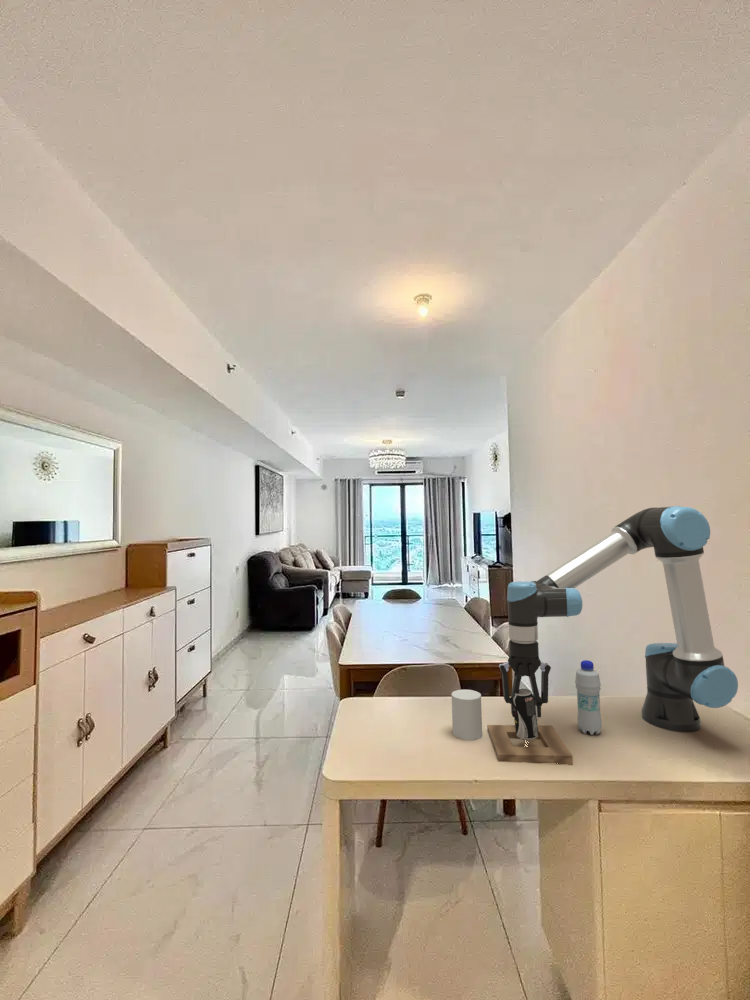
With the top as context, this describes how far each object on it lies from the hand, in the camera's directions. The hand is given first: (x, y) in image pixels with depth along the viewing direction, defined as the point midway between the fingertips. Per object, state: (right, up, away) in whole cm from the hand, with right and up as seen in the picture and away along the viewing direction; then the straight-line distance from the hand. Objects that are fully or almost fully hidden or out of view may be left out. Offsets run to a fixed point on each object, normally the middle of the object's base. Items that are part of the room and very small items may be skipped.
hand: (526, 729), depth 131 cm
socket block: (0, -5, 0) cm, 5 cm away
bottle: (+21, -5, +9) cm, 23 cm away
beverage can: (0, -2, -1) cm, 2 cm away
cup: (-14, -6, +7) cm, 17 cm away
